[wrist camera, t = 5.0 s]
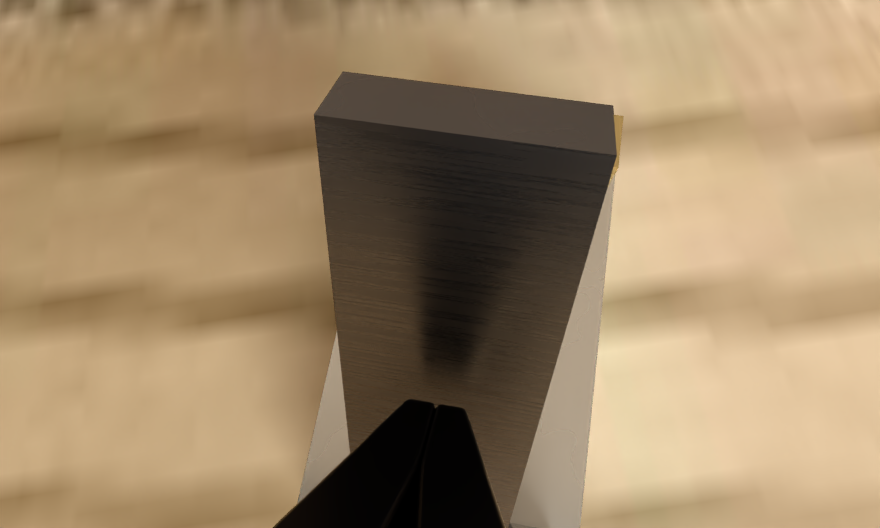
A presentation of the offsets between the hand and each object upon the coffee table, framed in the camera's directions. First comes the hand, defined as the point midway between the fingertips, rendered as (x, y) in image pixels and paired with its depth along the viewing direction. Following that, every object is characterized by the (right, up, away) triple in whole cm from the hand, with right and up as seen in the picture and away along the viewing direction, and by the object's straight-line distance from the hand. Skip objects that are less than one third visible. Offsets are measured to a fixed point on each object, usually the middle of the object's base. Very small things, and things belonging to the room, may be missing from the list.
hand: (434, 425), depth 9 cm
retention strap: (0, -4, +5) cm, 7 cm away
